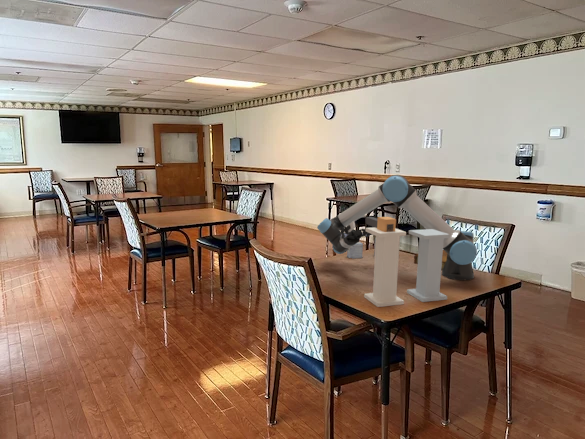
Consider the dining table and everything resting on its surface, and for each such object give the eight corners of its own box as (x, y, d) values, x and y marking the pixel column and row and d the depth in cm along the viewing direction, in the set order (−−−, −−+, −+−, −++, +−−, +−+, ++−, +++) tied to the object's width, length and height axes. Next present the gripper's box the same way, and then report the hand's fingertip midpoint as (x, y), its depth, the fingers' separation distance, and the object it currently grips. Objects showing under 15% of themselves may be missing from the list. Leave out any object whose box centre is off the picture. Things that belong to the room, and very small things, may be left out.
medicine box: (359, 256, 253) (360, 241, 252) (362, 258, 249) (363, 243, 248) (346, 256, 252) (347, 242, 250) (349, 258, 247) (350, 244, 246)
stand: (387, 293, 190) (390, 226, 185) (403, 304, 177) (408, 232, 172) (362, 295, 187) (365, 227, 181) (377, 307, 174) (381, 234, 169)
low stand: (428, 289, 196) (432, 229, 192) (446, 299, 184) (452, 235, 179) (405, 291, 193) (408, 230, 188) (422, 302, 180) (427, 236, 175)
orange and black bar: (374, 223, 192) (374, 212, 191) (395, 231, 175) (395, 219, 174) (363, 223, 190) (364, 212, 190) (384, 231, 174) (384, 219, 173)
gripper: (374, 244, 212) (395, 230, 193) (327, 247, 205) (343, 232, 186) (371, 230, 215) (391, 214, 196) (324, 232, 207) (340, 216, 188)
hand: (368, 223), depth 191 cm, fingers open, 13 cm apart
